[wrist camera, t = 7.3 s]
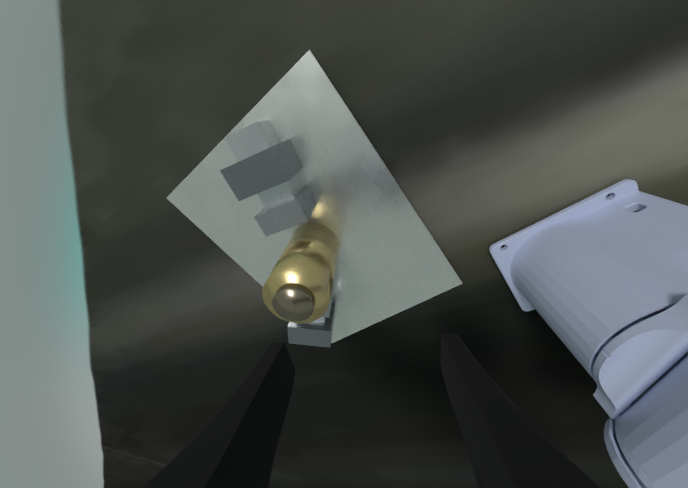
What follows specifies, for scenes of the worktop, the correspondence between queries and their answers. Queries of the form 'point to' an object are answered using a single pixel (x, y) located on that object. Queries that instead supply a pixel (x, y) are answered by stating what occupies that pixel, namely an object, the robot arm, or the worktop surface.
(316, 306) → the cylinder
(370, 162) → the shaft rig
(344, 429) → the worktop surface
